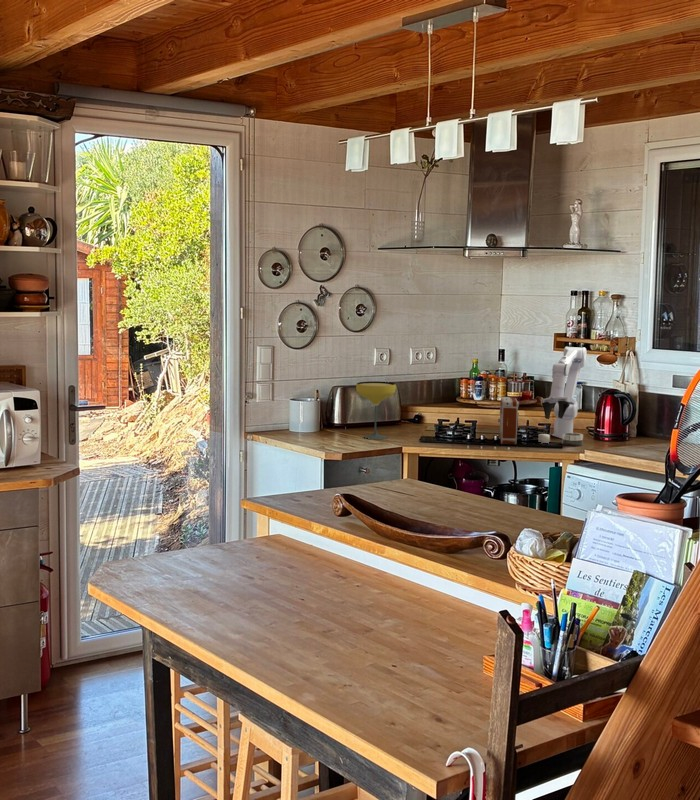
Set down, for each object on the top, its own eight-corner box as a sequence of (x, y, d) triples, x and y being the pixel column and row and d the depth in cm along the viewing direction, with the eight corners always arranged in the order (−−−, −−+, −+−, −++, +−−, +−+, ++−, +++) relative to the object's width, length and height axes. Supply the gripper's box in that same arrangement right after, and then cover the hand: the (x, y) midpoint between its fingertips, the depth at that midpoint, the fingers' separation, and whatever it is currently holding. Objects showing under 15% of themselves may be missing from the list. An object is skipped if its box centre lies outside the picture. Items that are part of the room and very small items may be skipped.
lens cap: (536, 441, 455) (536, 433, 454) (546, 441, 456) (546, 433, 456) (541, 443, 450) (541, 435, 450) (551, 443, 451) (551, 435, 451)
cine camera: (516, 438, 464) (518, 395, 461) (519, 445, 445) (520, 400, 442) (496, 437, 465) (497, 394, 462) (498, 445, 446) (499, 400, 443)
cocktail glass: (388, 433, 472) (389, 380, 469) (400, 440, 455) (400, 385, 452) (351, 435, 468) (351, 381, 464) (361, 441, 450) (362, 386, 447)
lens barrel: (558, 442, 452) (558, 433, 452) (576, 442, 455) (577, 432, 454) (567, 446, 444) (568, 436, 443) (586, 445, 446) (586, 435, 445)
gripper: (539, 387, 454) (535, 416, 452) (564, 385, 443) (560, 415, 440) (549, 392, 458) (545, 420, 456) (574, 389, 447) (570, 419, 444)
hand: (553, 418), depth 448 cm, fingers open, 7 cm apart
